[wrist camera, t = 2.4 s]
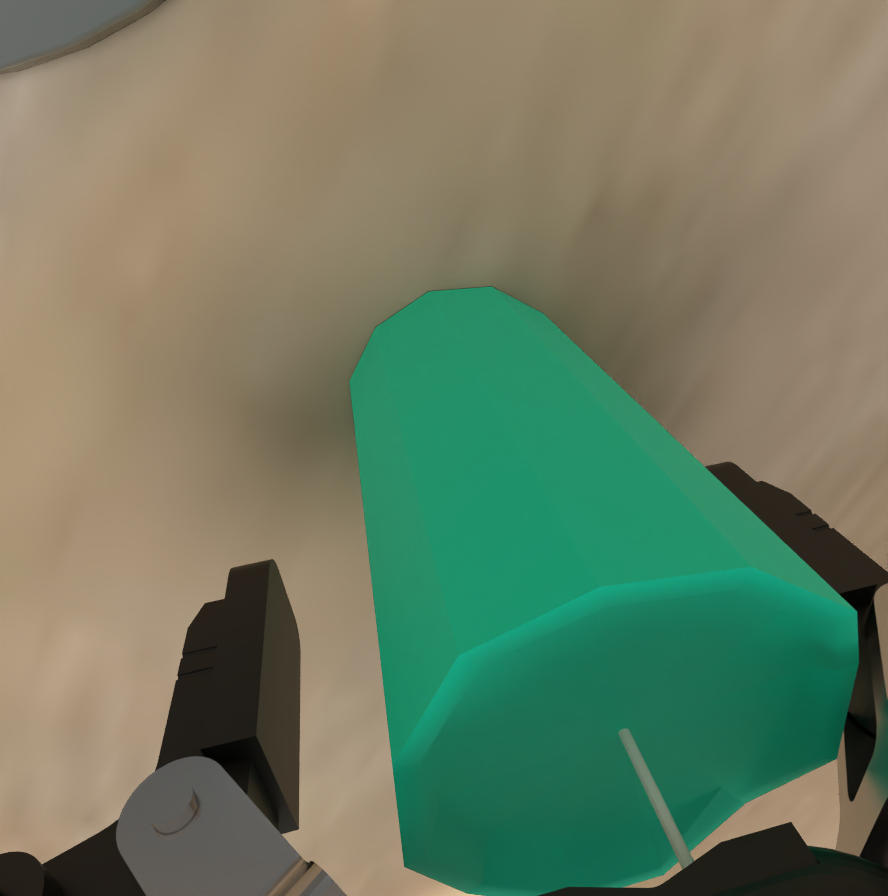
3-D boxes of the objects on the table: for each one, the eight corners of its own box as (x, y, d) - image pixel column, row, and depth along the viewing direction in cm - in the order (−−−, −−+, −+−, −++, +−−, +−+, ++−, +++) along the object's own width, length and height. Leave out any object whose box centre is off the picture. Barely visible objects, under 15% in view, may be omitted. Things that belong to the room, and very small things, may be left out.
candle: (392, 518, 18) (494, 1096, 7) (310, 333, 15) (294, 890, 4) (585, 450, 18) (953, 931, 7) (546, 250, 15) (1087, 605, 4)
